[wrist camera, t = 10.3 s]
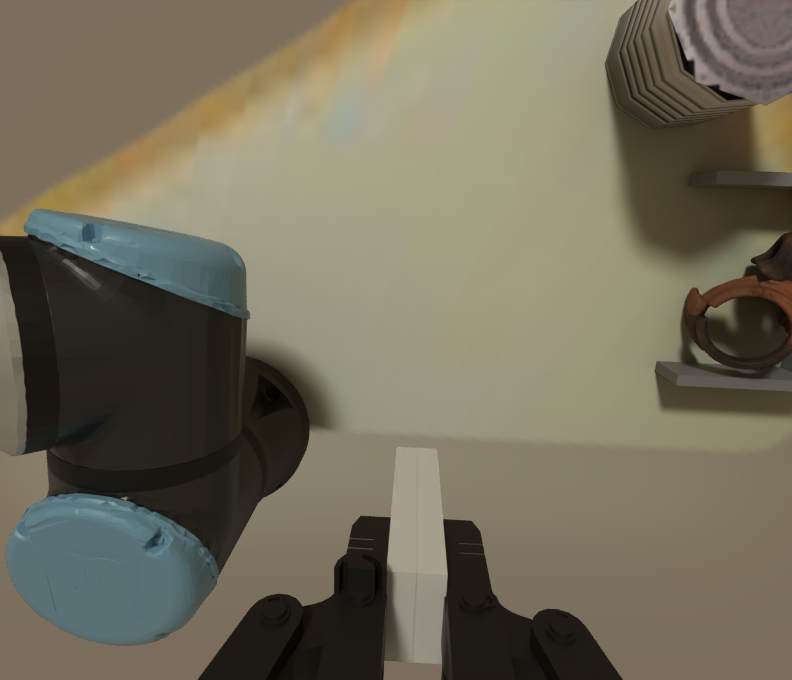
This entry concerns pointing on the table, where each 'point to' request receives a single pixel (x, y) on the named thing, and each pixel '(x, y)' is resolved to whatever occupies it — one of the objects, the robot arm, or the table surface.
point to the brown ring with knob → (788, 288)
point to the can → (699, 58)
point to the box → (723, 376)
